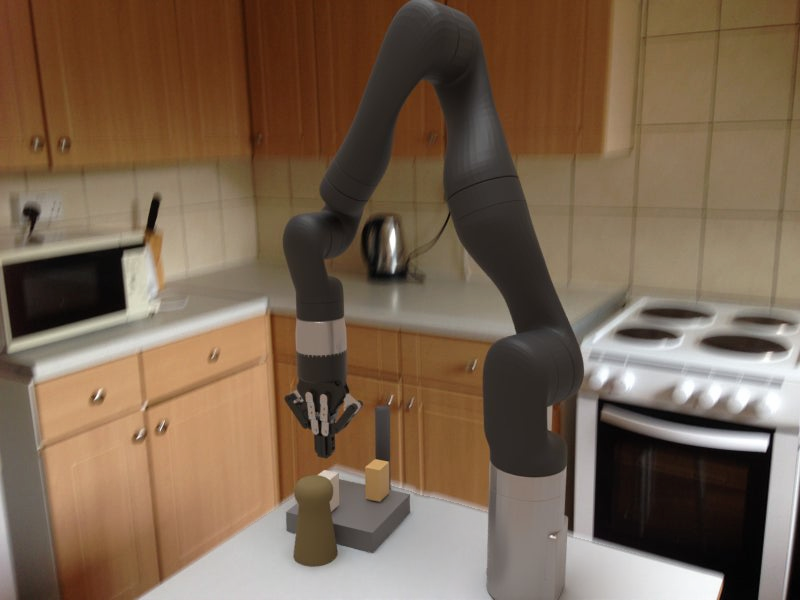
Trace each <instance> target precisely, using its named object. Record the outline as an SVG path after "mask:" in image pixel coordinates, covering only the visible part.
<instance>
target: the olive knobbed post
mask: <svg viewBox="0 0 800 600" xmlns="http://www.w3.org/2000/svg"><path fill="white" fill-rule="evenodd" d="M293 494H294V498H295V501H296V504H297V503H298V504H299V508H298V518H297V527H296V533H295V537H294V547H293V556H292V557H293V559H294V561H295V562H296V563H297V564H300V565H301V566H304V567H320V566H325V565H328V564H329V563H331V562H333V561H334V560H335V559H336V558H337V556H338V546H337V545H338V544H336V539H335V533H334V527H333V521H332V515H331V509H330V503H329V502H330V501H331V499H332V496H333V486H332V483H331V482H330V480H329V479H328V478H326V477H324V476H320V475H318V474H311V475H307V476H304V477H302V478H300V479H299V480H298V481H297V482H296V484H295V486H294V493H293Z"/></svg>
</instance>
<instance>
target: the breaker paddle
mask: <svg viewBox="0 0 800 600" xmlns="http://www.w3.org/2000/svg"><path fill="white" fill-rule="evenodd" d="M364 475H365V476H364V480H365V481H364V484H365V498H366V499H370V500H374V501H379V502H380V501H381V500H382V499H383V498H384V497H385V496H386V495H387V494H389V462H387V461H382V460H377V459H376V458H374V459H373V460H372V461H371V462H370V463H368V464H367V465H366V466H365V467H364Z"/></svg>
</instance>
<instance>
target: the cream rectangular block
mask: <svg viewBox="0 0 800 600" xmlns="http://www.w3.org/2000/svg"><path fill="white" fill-rule="evenodd" d="M317 475H320V476H324V477H326V478H328V479H329V480H330V482H331V483H332V486H333V496H332V499H331V501H330V502H329V503H330V509H331V512H332V511H333V510H334V509H335V508H336V507H337V506H338V505H339V479H340V478H339V472H336V471H331V470H326V469H323V470H322V471H321V472H319V473H318V474H317Z"/></svg>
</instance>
